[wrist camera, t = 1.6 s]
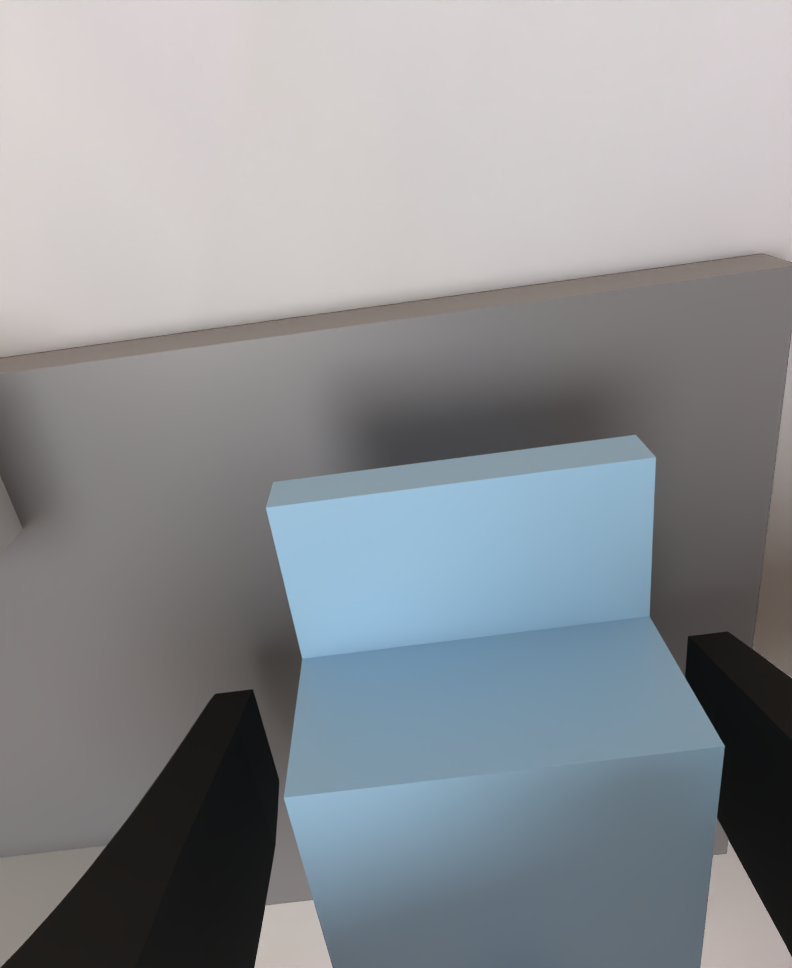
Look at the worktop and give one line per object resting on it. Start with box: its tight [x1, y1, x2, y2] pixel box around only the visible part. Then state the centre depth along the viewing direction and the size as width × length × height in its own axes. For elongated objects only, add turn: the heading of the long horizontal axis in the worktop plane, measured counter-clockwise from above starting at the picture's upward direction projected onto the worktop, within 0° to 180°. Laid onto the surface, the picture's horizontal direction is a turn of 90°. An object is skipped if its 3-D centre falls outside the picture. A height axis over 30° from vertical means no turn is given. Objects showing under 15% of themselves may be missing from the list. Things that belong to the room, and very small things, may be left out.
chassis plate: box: [0, 254, 792, 967], centre depth 12 cm, size 20×12×4 cm, turn 97°
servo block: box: [266, 435, 725, 968], centre depth 10 cm, size 4×10×6 cm, turn 7°
